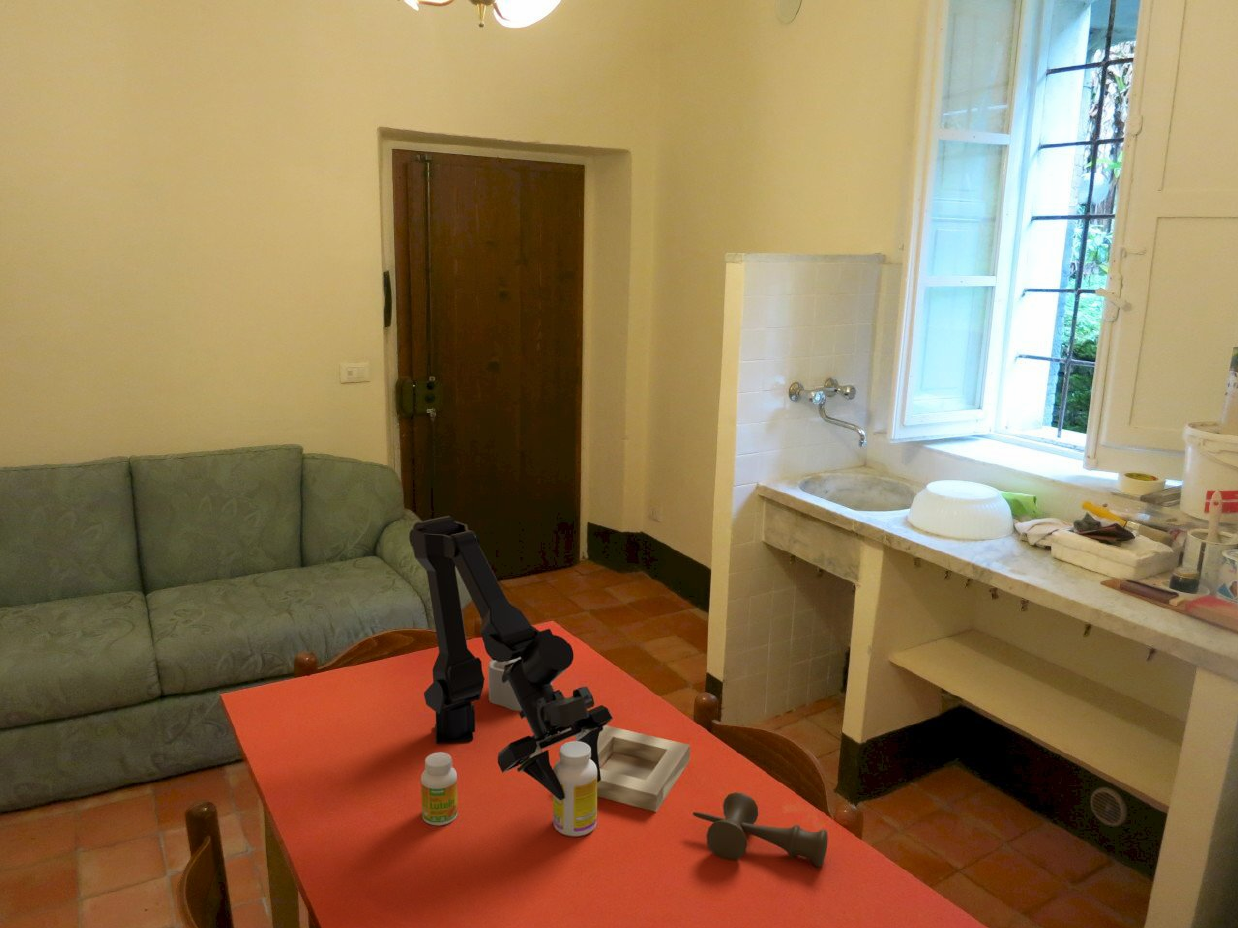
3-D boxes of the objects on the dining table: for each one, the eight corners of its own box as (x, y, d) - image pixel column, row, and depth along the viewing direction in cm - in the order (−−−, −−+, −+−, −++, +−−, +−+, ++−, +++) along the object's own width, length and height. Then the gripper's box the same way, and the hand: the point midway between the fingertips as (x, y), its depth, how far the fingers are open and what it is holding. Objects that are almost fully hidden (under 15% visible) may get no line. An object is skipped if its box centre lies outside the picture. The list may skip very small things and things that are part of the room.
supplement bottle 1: (427, 830, 139) (425, 772, 137) (418, 810, 144) (415, 754, 141) (462, 820, 142) (461, 763, 139) (451, 801, 146) (450, 746, 144)
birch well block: (564, 787, 151) (564, 770, 150) (604, 739, 165) (604, 724, 164) (656, 811, 145) (656, 794, 144) (689, 760, 159) (690, 744, 158)
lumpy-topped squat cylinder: (481, 699, 179) (480, 657, 177) (523, 673, 189) (523, 634, 187) (524, 714, 173) (523, 672, 171) (564, 687, 184) (565, 647, 182)
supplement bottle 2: (603, 816, 143) (604, 742, 140) (587, 842, 137) (588, 764, 134) (562, 807, 145) (563, 733, 142) (545, 832, 139) (545, 755, 136)
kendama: (818, 887, 129) (681, 848, 136) (829, 848, 138) (700, 813, 145) (823, 850, 128) (684, 812, 135) (833, 812, 137) (703, 779, 144)
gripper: (507, 694, 132) (555, 797, 127) (606, 657, 144) (653, 749, 139) (477, 722, 140) (521, 820, 134) (573, 685, 152) (617, 774, 147)
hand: (581, 790), depth 139 cm, fingers closed on supplement bottle 2, 7 cm apart
